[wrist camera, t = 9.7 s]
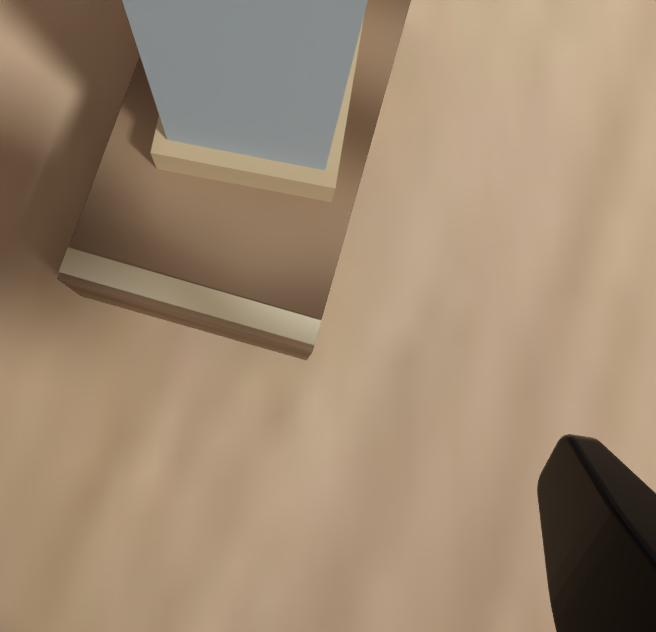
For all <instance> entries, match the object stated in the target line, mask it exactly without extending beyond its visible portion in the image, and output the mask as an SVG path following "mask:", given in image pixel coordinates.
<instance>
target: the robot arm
mask: <svg viewBox="0 0 656 632" xmlns="http://www.w3.org/2000/svg"><path fill="white" fill-rule="evenodd" d="M537 493H538V503H539V511H540V520H541V529H542V537H543V546H544V555H545V563H546V572H547V581H548V589H549V595H550V602H551V608H552V613H553V618H554V623H555V627H556V631H557V632H656V493H655V492H654V491H653V490H652V489H650V488H649V487H648V486H647V485H646V484H645V483H644V482H643V481H642V480H641V479H640V478H639V477H638V476H636V475H635V474H634V473H633V472H632V471H631V470H630V469H629V468H628V467H627V466H626V465H625V464H624V463H622V462H621V461H620V460H619V459H618V458H617V457H616V456H615V455H614V454H613V453H612V452H611V451H610V450H608V449H607V448H606V447H605V446H604V445H603V444H602V443H601V442H600V441H598V440H597V439H594V438H591V437H585V436H578V435H571V434H568V435H564V436H563V437H562V438H560V440H559V441H558V443H557V444H556V446H555V448H554V450H553V452H552V454H551V456H550V457H549V459H548V461H547V463H546V465H545V467H544V468H543V470H542V472H541V474H540V477H539V480H538V487H537Z"/></svg>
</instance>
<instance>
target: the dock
mask: <svg viewBox="0 0 656 632" xmlns="http://www.w3.org/2000/svg"><path fill="white" fill-rule="evenodd" d="M410 2H411V0H368V1H367V5H366V9H365V13H364V19H363V25H362V31H361V37H360V43H359V49H358V55H357V61H356V67H355V73H354V79H353V85H352V92H351V98H350V104H349V110H348V116H347V122H346V128H345V134H344V140H343V146H342V152H341V158H340V164H339V170H338V176H337V182H336V188H335V191H334V194H333V198H332V201H331V202H327V201H322V200H316V199H311V198H306V197H301V196H296V195H290V194H285V193H280V192H275V191H269V190H264V189H259V188H254V187H248V186H243V185H238V184H233V183H227V182H222V181H217V180H212V179H206V178H201V177H196V176H191V175H185V174H180V173H175V172H170V171H165V170H159V169H157V168H156V166H155V163H154V161H153V158H152V156H151V153H150V152H151V148H152V144H153V139H154V135H155V130H156V126H157V122H158V117H159V113H158V110H157V107H156V104H155V100H154V97H153V94H152V91H151V88H150V85H149V82H148V79H147V76H146V73H145V70H144V67H143V63H142V60H141V57H140V58H139V60H138V63H137V66H136V68H135V71H134V74H133V77H132V79H131V82H130V85H129V87H128V90H127V93H126V95H125V98H124V101H123V103H122V106H121V109H120V111H119V114H118V117H117V120H116V122H115V125H114V128H113V130H112V133H111V136H110V138H109V141H108V144H107V146H106V149H105V152H104V154H103V157H102V160H101V163H100V165H99V168H98V171H97V173H96V176H95V179H94V181H93V184H92V187H91V189H90V192H89V195H88V197H87V200H86V203H85V206H84V208H83V211H82V214H81V216H80V219H79V222H78V224H77V227H76V230H75V232H74V235H73V238H72V240H71V243H70V246H69V247H68V248H67V250H66V253H65V256H64V258H63V261H62V264H61V266H60V269H59V272H60V273H59V275H58V278H57V279H58V280H60V281H61V282H62V283H64V284H65V285H67V286H68V287H69V288H71V289H72V290H73V291H75V292H76V293H77V294H79V295H80V296H83V297H87V298H90V299H94V300H97V301H101V302H104V303H108V304H111V305H115V306H118V307H122V308H125V309H129V310H132V311H136V312H139V313H143V314H146V315H150V316H153V317H157V318H160V319H164V320H167V321H171V322H174V323H178V324H181V325H185V326H188V327H192V328H195V329H199V330H202V331H206V332H209V333H213V334H216V335H220V336H223V337H227V338H230V339H234V340H237V341H241V342H244V343H248V344H251V345H255V346H258V347H262V348H265V349H269V350H272V351H276V352H279V353H283V354H286V355H290V356H293V357H297V358H300V359H304V360H307V359H308V358H309V356H310V355H311V353H312V352H313V348H314V345H315V341H316V338H317V334H318V331H319V327H320V324H321V319H322V316H323V312H324V309H325V305H326V302H327V298H328V294H329V291H330V287H331V284H332V280H333V277H334V273H335V269H336V266H337V262H338V259H339V255H340V252H341V248H342V244H343V241H344V237H345V234H346V230H347V227H348V223H349V219H350V216H351V212H352V209H353V205H354V202H355V198H356V195H357V191H358V187H359V184H360V180H361V177H362V173H363V170H364V166H365V162H366V159H367V155H368V152H369V148H370V145H371V141H372V137H373V134H374V130H375V127H376V123H377V120H378V116H379V112H380V109H381V105H382V102H383V98H384V95H385V91H386V87H387V84H388V80H389V77H390V73H391V70H392V66H393V62H394V59H395V55H396V52H397V48H398V45H399V41H400V37H401V34H402V30H403V27H404V23H405V20H406V16H407V12H408V9H409V5H410Z"/></svg>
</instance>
